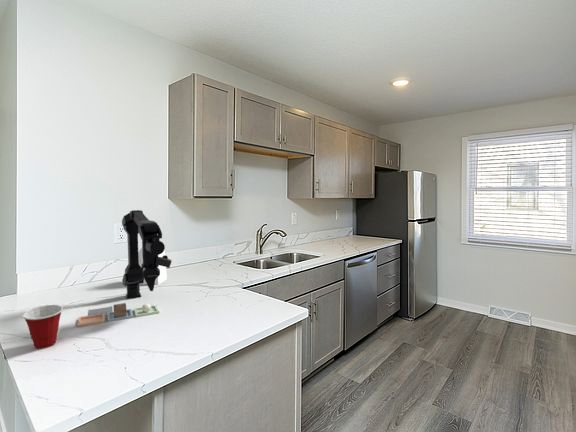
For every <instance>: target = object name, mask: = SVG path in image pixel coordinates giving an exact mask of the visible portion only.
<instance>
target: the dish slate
mask: <svg viewBox="0 0 576 432" xmlns="http://www.w3.org/2000/svg"><path fill="white" fill-rule="evenodd" d="M132 310H133V309H132V308H128V309H127V308H126V313H127V316H125V317H119V318H114V311H113V312H109V313H107V314H106V315H107V323H111V322H117V321H122V320H128V319H129V320H130V319H134V314H133V311H132Z"/></svg>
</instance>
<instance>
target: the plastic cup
mask: <svg viewBox="0 0 576 432" xmlns="http://www.w3.org/2000/svg"><path fill="white" fill-rule="evenodd" d="M63 310H64V307H63V306H62V305H60V304H47V305H46V304H45V305H41V306H37V307H33V308H30V309H28V310H26V311H25V312H24V313H22V318H23V319H24V320H25V322H26V325H27V328H28V331H29V333H30V338H31V341H32V343H33V346H34V349H36V350H37V349H38V350H39V349H40V350H42V349H47V348H50V347H52V346H54V345H55V344H56V343H57V338H58V334H59V325H60V320H61V319H60V318H61V315H62V312H63Z"/></svg>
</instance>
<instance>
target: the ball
mask: <svg viewBox="0 0 576 432" xmlns="http://www.w3.org/2000/svg"><path fill="white" fill-rule="evenodd" d="M151 306H152V305H151V304H150V303H144V304H143V305H142V306H141V307H142V310H143V311H144V312H148V311H149V310H150V309H151Z"/></svg>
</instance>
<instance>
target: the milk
mask: <svg viewBox="0 0 576 432" xmlns="http://www.w3.org/2000/svg"><path fill="white" fill-rule="evenodd" d="M165 250H166V249H164V251H163V253H161V254H159V255H158V257H163V256H164V255H166V254H165V253H166V252H165ZM138 256H139V265H140V266H141V268H142V263H143V257H142V247H141V248H140V249H138ZM158 268H159V269H160V275H159V276H158V277H157V278H156V280H155V284H154V285H160V284H162V283H163V282H164V281H166V280H167V279H168V276H167V268H166V267H164V266H160V265H159V267H158ZM143 269H144V268H143ZM140 285H147V283H146V281H145V279H144V282H143V283H141V284H140Z"/></svg>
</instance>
